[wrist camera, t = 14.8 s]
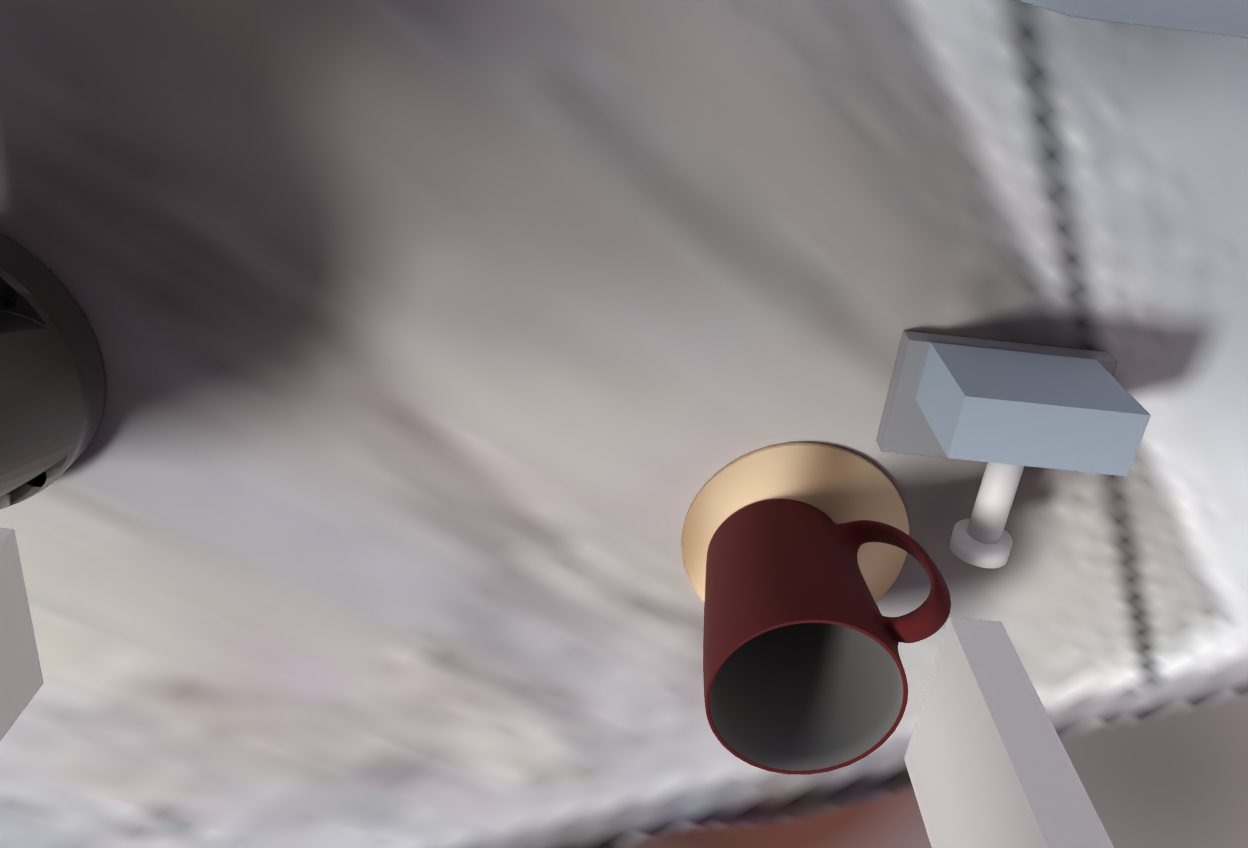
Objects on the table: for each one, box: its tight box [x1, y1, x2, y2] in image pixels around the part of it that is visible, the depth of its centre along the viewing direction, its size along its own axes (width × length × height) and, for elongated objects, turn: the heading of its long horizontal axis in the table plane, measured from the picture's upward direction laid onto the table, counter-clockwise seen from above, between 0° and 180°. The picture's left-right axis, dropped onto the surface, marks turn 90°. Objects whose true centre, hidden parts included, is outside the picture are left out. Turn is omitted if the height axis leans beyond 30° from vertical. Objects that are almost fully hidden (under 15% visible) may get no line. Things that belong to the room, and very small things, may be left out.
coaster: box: [682, 442, 910, 603], centre depth 55 cm, size 12×12×1 cm
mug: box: [703, 499, 951, 774], centre depth 50 cm, size 12×9×11 cm
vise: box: [876, 0, 1248, 568], centre depth 44 cm, size 10×34×7 cm, turn 174°
